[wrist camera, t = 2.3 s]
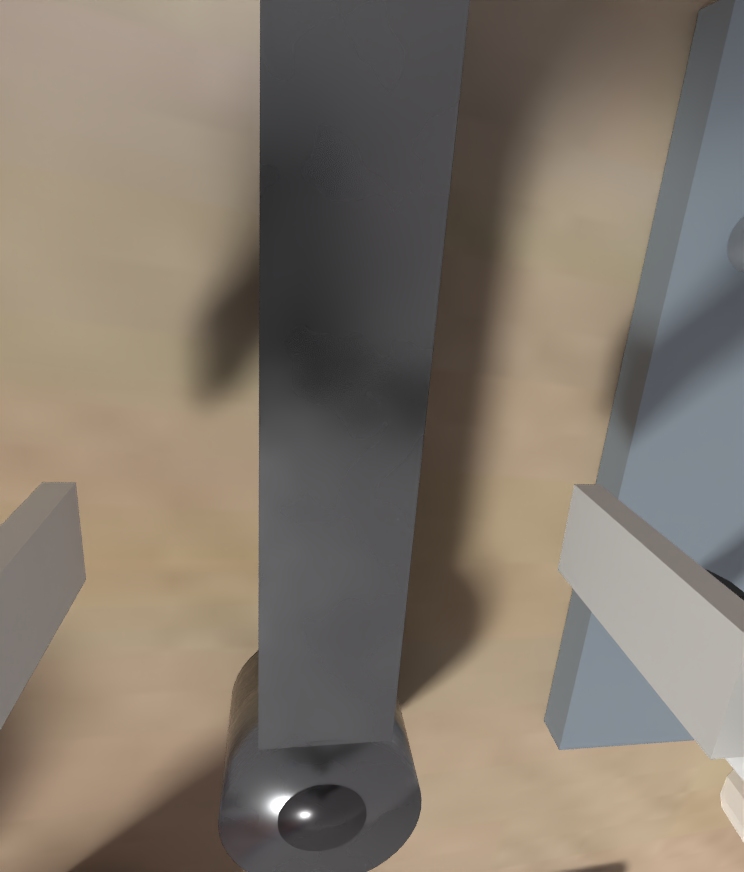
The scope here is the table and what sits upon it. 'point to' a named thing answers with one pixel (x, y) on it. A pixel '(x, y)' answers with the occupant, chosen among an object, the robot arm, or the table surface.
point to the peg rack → (675, 392)
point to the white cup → (734, 801)
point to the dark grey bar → (340, 421)
